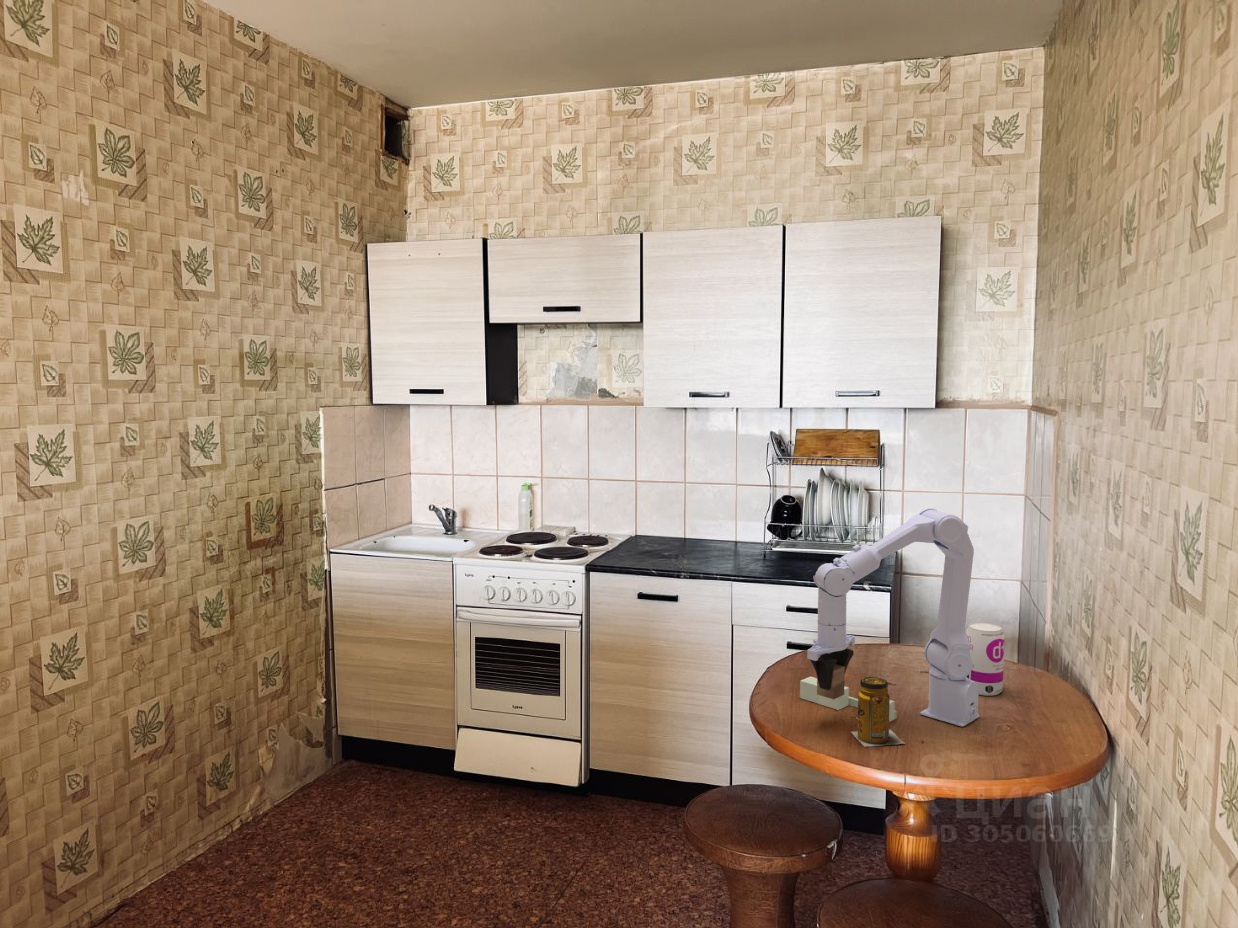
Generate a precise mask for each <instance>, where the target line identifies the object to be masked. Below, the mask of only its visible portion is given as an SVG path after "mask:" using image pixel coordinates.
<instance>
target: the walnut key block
mask: <svg viewBox="0 0 1238 928" xmlns="http://www.w3.org/2000/svg"><path fill="white" fill-rule="evenodd" d="M845 675H846V672H845V667H844V666H841V665H837V664H835V666H834V669H833V673H832V681H831V687H830V690H825V689H822V688H820V686H819V682H818V678H817V677H816V678H817V695H820V696H824V697H827V698H830V699H833V700H834V699H836V698H838V697H840V696H842V695H844V686H845Z"/></svg>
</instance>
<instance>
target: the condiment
mask: <svg viewBox="0 0 1238 928" xmlns="http://www.w3.org/2000/svg"><path fill="white" fill-rule="evenodd" d="M888 686H889V682H888V681H887V680H886V679H884V678H882V677H877V676H865V677H862V678H860V687H859V689H860V690H859V692H858V695H857V699H858V708H857V723H856V724H857V731H851V730H850V733H851V734H852V735H853V737H855V738H856V739H857V741H858V742H859V743H860V744H861V745H862V746H863V747H881V746H882V747H884V746H888V745H890V746H892V745H894V746H895V745H900V744H901V745H904V744H905V745H906V742H904V741H903V740H902V739H901V738H899V736H897V735H896V733H895V732H893V730H892V729H890V722H889V705H890V700H891V699H890V698H891V696H890V694H889V689H888Z"/></svg>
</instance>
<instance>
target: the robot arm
mask: <svg viewBox="0 0 1238 928" xmlns="http://www.w3.org/2000/svg"><path fill="white" fill-rule="evenodd" d="M968 531H969V526H968V524H966V523H965V522H964V521H963V520H962V519H961V518H960V517H959V516H956V515H955V514H949V513H946V512H942V511H939V510H937V509H935V508H925V509H922V511H920V512H919V513H916V514H914V515H912V516H911V517H910V518H909V519H908V520H907V521H906V522H904V523H903V524H902V525H901V524H900V526H898V527H896V529H893V531H891V532H890V533H888V534H887V535H885V536H883V537H881V539H879V540H878V541H876V542H875V543H873V544H871V545H868V544H863V543H862V544H861V545H859V544H856V545H854V546H852V550H851V551H849V552H847V553H846V554H844V555H842V556H841V557H835V558H834V559H833V560H832V561H833V563H832V562H830V563H828V562H827V563H823V564H821V565H820V566H819V567H818V568H817V570H816V572H815V575H813V582H814V584H815V585H816V586H817V587H818V590H817V637H816V638H813V641H812V642H813V645H812V646H811V647H810V648H808V649H807V651H806V652H807V655H806V656H807V657H806V658H807V659H808V660H809V661H810V663H811V664H812V666H813V668H814V671H815V674H816V678H818V682H819V686H820V688H822V689H825V690H830V687H831V681H832V673H833V669H834V666H835V664H837V665H841V666H844V667H845V673H846V672H847V669H848V667H849V663H850V661H851V660H852V658H853V656H854V650H853V649H850V648H848V647H849V646H850V647H853V646H855V645H856V644H855V643H856V641H855V640H856V636H854V635H851V634H847V594H848V593H849V592H850V590H851V588H852V586H853V584H854V583H856V582H858V581H860V580H861V579H863V578H865V577H866V576H868V575H869V574H871V573H872V572H874V571H876V570H878V569H879V567H880V566H881V565H880V564H881V561H882V560H883V559H885V558H886V557H889V556H891V555H892V554H894V553H896V552H898V551H900V550H901V549H903V548H905V547H907V546H909V545H911V544H913V543H925V544H934V545H936V547H937V548H938V549H939V550H940V551H941V552H942V553H943V555H944V563H943V572H942V582H941V589H940V598H939V599H940V600H939V608H938V616H937V625H936V627H935V628H934V629H933V630H932V631H931V632H930V635H929V640H928V642H927V644H926V645H925V647H924V652H923V653H924V654H923V655H924V659H925V661H926V662H927V663H928V664H929V666H928V667H929V675H928V676H929V677H928V678H929V679H928V684H929V685H928V707H926V708H925V709H923V710H922V711H920V712H919V714H920V715H921V716H925V717H928V718H932V719H935V720H938V721H942V722H944V723H948V724H952V725H955V726H959V727H962V728H963V727H966V726H967V725H968V724H970V723H971V722H973V721H975V720H976V719H978V718H979V717H980V714H979V689H978V684H977V683H976V682H975V681H972V680H970V679H968V678H967V677H966V676H968V675H969V673H970V672H971V670H972V667H973V661H972V658H971V655H970V647H971V646H970V643H969V641H968V639H967V637H966V622H967V621H966V620H967V612H968V603H969V595H970V588H971V578H972V571H973V561H974V554H975V552H974V551H975V549H974V546H973V543H972V541H971V539H970V536H969V533H968Z"/></svg>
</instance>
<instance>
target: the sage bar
mask: <svg viewBox="0 0 1238 928" xmlns="http://www.w3.org/2000/svg"><path fill="white" fill-rule="evenodd" d="M849 692H850V688H849V687H848V686H845V685H844V695H842V696H840V697H838V698H836V699H834V700H833V699H830V698H827V697H824V696H820V695H817V677H814V676H811V675H810V676H808V677H805V678H804V679H801V680H800V682H799V698H800V699H802V700H805V701H808V702H813V703H815V704H818V705H820V706H821V705H822V706H824V707H828V708H831V709H834V710H838V711H840V710H842V709H844V708H846V707H848V706H850V707H855V708H857V709H858V698H856V697H852V696H850V693H849ZM895 704H896V701H895V700H892V699H890V705H889V723H890V722H892V721H894V720H896V719H897V717H898V716H897V715H898V712H897V711H898V710H895V708H896V707H895V706H896V705H895Z"/></svg>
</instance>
